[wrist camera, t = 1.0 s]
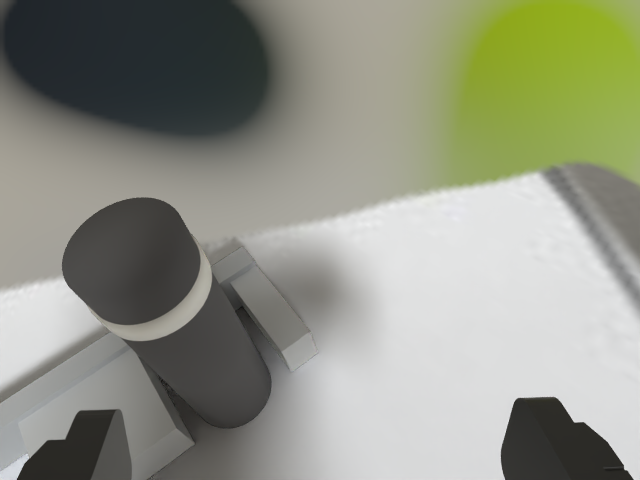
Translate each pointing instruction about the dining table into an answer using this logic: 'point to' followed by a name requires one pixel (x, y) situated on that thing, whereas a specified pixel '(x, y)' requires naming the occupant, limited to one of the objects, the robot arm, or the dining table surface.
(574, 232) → the dining table surface
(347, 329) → the dining table surface
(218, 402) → the grey cylinder white band
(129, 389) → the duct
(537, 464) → the robot arm
